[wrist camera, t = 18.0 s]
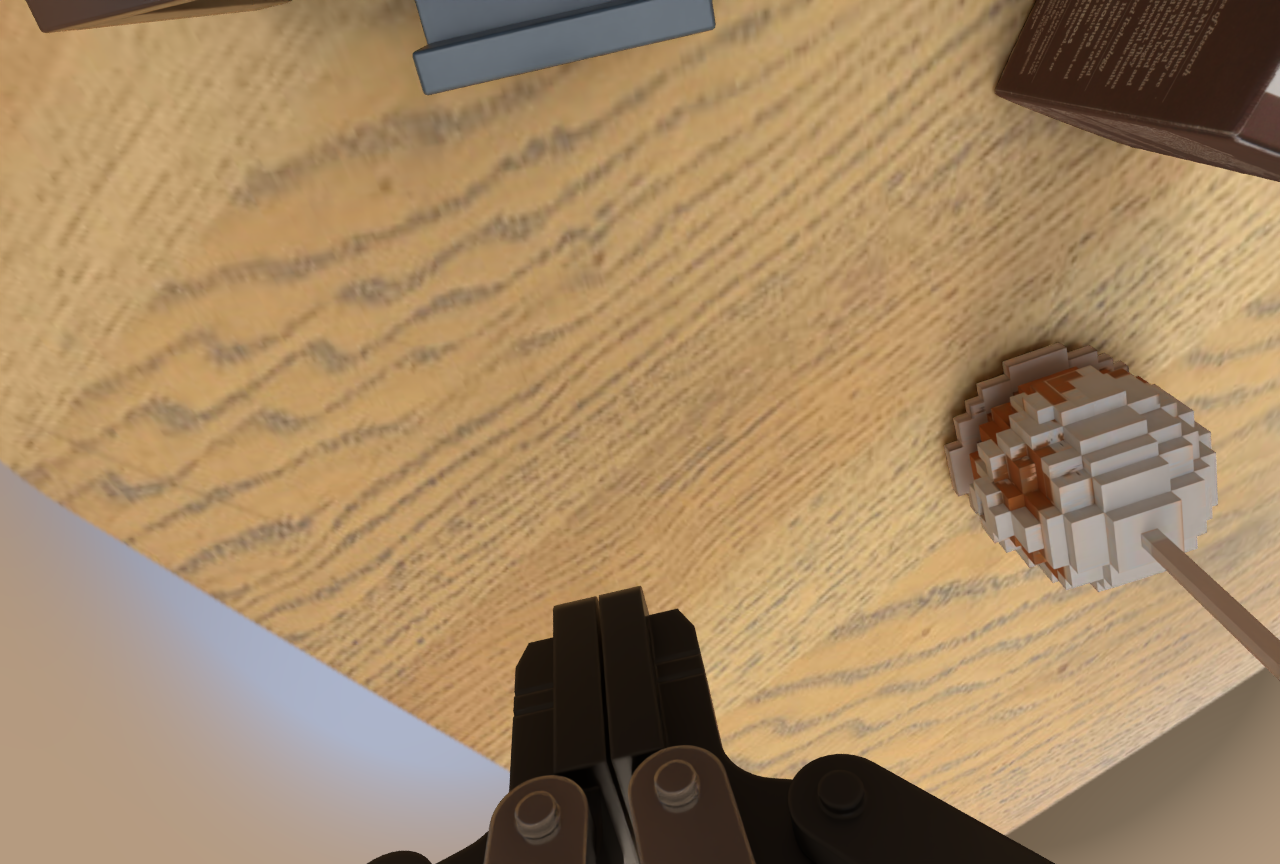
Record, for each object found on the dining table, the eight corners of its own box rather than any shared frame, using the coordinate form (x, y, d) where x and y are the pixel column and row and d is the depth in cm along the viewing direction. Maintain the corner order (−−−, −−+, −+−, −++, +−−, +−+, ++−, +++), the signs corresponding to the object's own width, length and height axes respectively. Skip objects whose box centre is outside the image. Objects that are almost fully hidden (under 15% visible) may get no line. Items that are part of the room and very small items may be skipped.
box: (1205, 13, 29) (1582, 35, 18) (1130, 148, 31) (1433, 239, 20) (1051, -54, 28) (1359, -72, 17) (983, 92, 30) (1222, 157, 19)
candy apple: (926, 380, 34) (1158, 633, 21) (1122, 312, 34) (1489, 530, 20) (958, 534, 38) (1175, 834, 25) (1136, 475, 37) (1457, 751, 24)
